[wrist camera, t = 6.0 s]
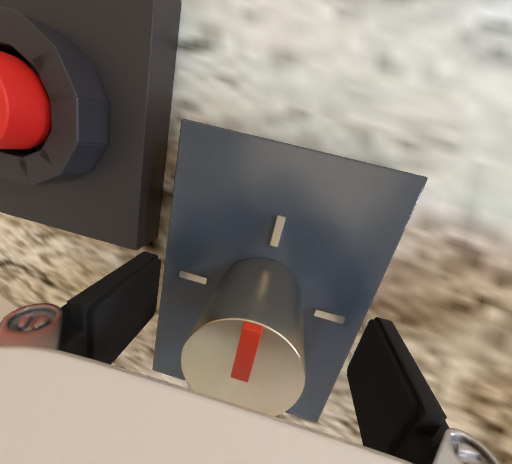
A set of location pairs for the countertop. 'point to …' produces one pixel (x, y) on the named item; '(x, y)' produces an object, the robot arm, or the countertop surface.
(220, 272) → the control panel
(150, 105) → the switch block
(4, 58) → the power button
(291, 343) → the dial
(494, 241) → the countertop surface
